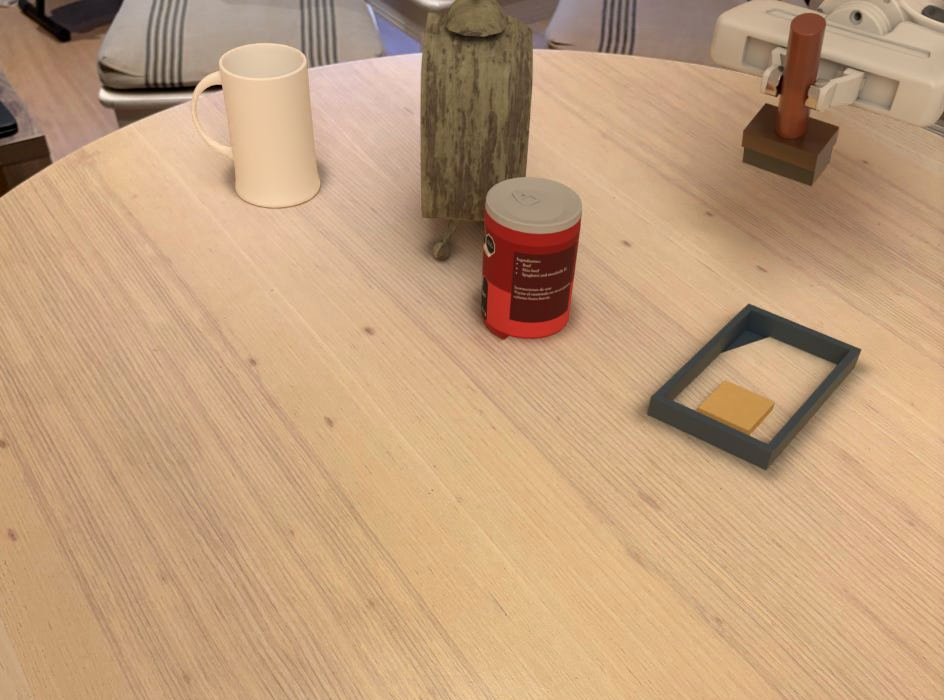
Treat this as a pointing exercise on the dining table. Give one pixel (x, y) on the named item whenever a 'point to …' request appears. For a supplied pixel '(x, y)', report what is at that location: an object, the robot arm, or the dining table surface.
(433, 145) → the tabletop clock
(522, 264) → the canned food
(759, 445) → the tray
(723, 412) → the tan square tile
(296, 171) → the mug
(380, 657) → the dining table surface
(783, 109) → the brush
